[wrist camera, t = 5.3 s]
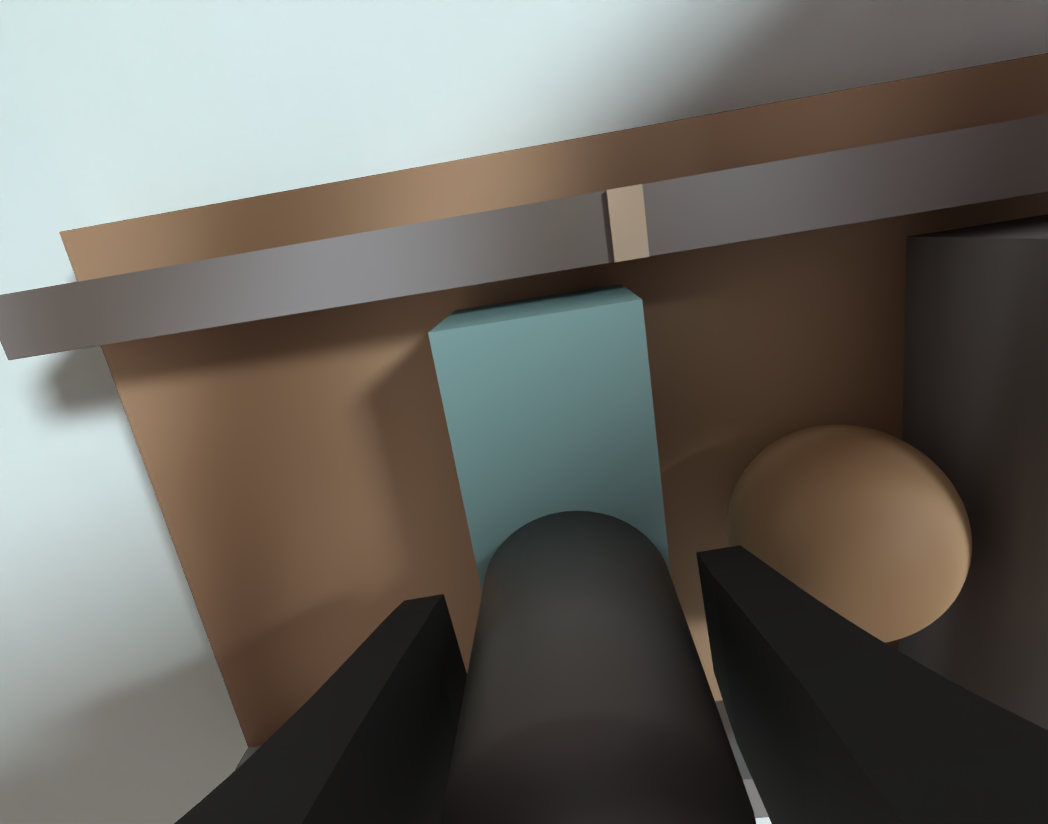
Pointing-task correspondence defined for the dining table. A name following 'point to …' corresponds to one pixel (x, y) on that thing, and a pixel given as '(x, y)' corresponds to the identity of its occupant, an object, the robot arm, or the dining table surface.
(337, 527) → the press base
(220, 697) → the dining table surface
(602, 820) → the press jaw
